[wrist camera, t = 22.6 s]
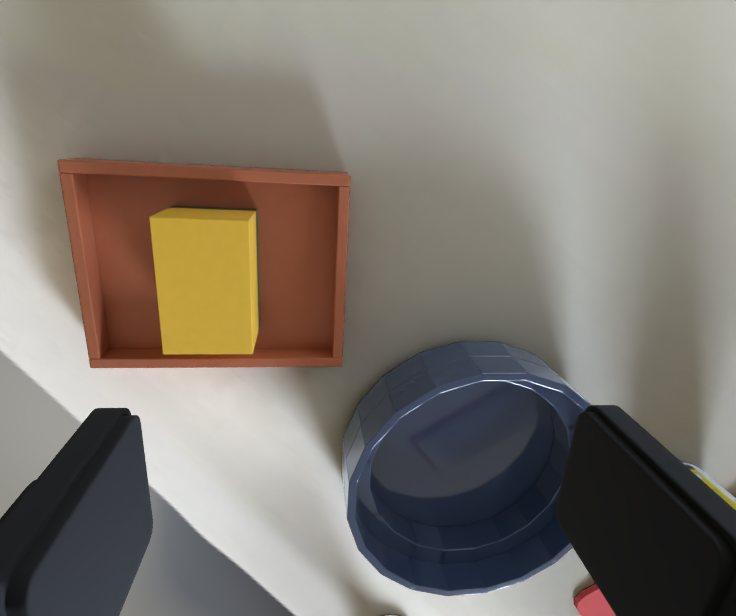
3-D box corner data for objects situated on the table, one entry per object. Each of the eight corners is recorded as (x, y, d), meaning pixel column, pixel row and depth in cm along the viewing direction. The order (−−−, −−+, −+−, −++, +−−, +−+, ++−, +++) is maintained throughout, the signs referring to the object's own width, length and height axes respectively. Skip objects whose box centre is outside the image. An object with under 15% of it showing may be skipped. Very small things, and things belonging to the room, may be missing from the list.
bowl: (346, 337, 30) (354, 374, 25) (593, 337, 32) (642, 372, 27) (337, 542, 35) (342, 604, 31) (547, 530, 38) (581, 586, 33)
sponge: (172, 205, 25) (149, 216, 21) (257, 208, 26) (248, 220, 22) (182, 325, 27) (162, 354, 24) (259, 325, 28) (252, 354, 24)
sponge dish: (75, 158, 24) (56, 159, 22) (347, 172, 26) (350, 174, 24) (104, 353, 28) (89, 368, 26) (340, 352, 30) (342, 367, 28)
